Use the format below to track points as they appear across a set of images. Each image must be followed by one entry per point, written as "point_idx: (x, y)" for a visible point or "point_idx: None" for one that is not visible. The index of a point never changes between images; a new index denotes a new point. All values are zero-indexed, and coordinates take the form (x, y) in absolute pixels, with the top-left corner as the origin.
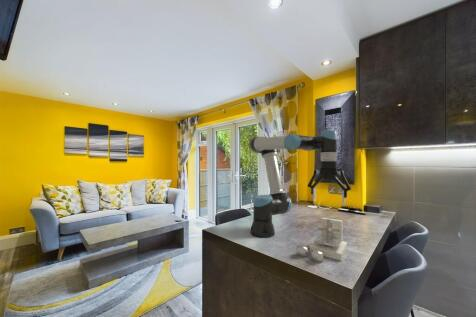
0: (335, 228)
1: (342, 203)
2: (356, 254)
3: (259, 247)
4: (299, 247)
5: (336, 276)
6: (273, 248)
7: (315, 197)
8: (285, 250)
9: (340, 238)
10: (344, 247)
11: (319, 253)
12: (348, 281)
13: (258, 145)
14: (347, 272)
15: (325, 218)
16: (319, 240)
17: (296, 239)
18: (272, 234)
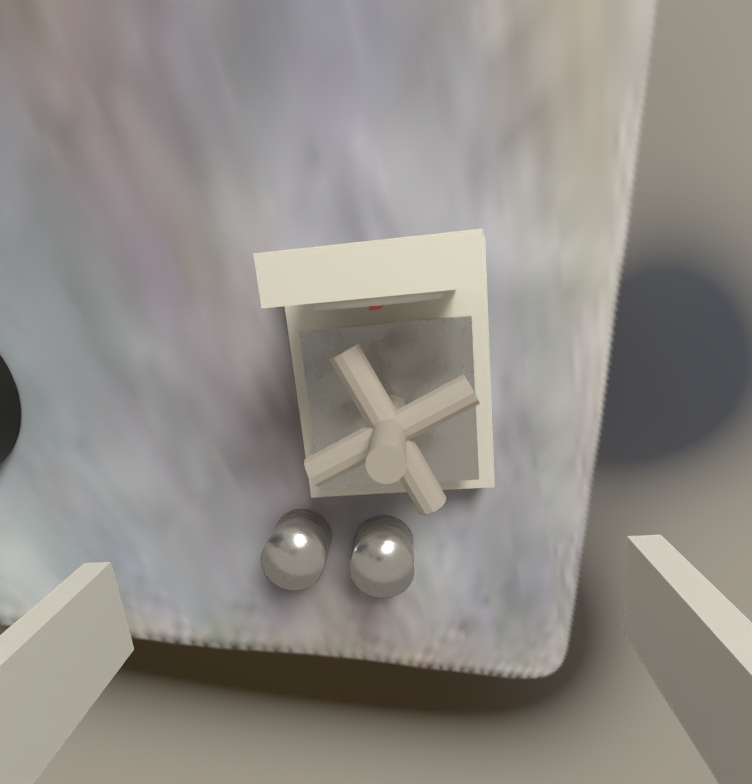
0: (445, 417)
1: (647, 652)
2: (546, 317)
3: None
4: (283, 581)
5: (499, 630)
6: (149, 558)
7: (65, 636)
8: (208, 540)
9: (458, 320)
10: (489, 365)
11: (400, 587)
12: (548, 638)
13: None
14: (533, 570)
15: (296, 276)
16: (349, 472)
17: (158, 337)
18: (8, 405)
